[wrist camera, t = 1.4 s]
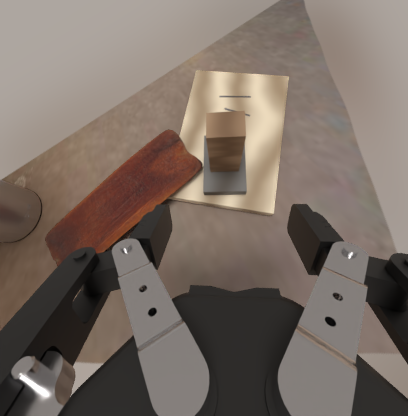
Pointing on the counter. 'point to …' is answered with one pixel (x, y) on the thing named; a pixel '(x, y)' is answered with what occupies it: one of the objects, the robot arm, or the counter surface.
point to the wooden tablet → (125, 197)
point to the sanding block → (225, 154)
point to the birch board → (255, 135)
